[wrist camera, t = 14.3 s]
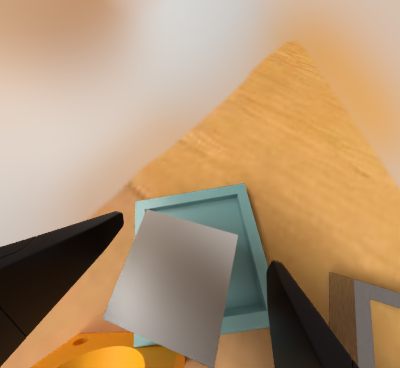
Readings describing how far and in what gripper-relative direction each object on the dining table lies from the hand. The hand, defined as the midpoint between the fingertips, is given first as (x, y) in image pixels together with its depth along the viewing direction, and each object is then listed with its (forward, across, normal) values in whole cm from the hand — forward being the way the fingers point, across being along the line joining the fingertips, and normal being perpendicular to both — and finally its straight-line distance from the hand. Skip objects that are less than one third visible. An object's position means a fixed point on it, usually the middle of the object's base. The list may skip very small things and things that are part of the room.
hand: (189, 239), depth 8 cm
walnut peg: (+6, 0, +8) cm, 10 cm away
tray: (+7, 0, +9) cm, 11 cm away
